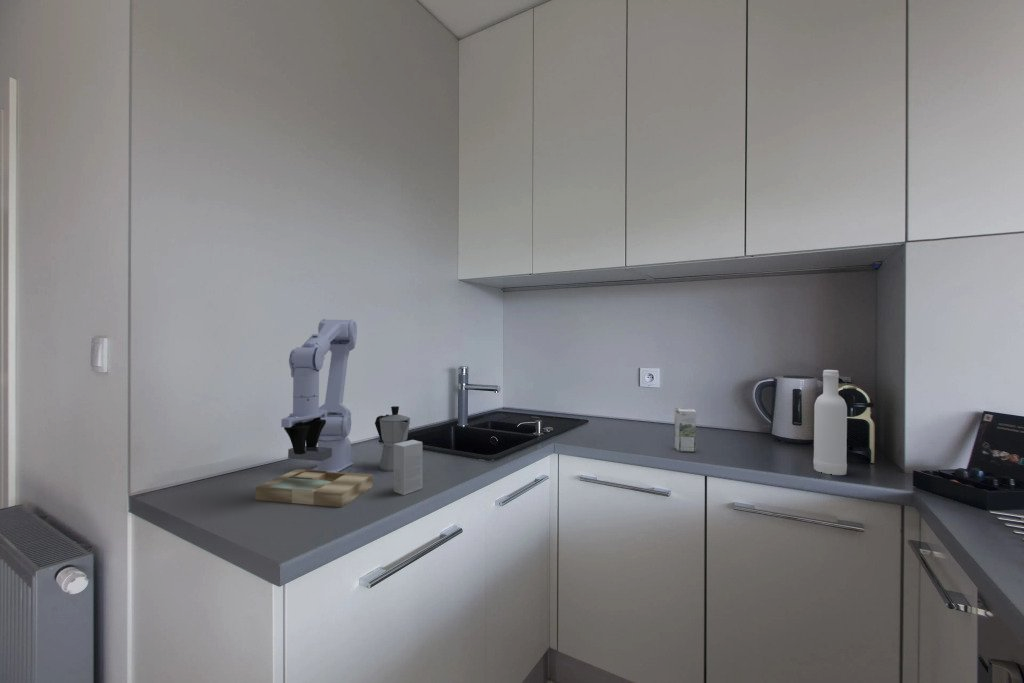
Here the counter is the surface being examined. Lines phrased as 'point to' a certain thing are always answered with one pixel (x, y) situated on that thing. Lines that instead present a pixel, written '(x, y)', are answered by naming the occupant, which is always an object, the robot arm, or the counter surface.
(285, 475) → the bamboo board
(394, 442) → the coffee maker
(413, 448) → the skincare box
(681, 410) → the syrup box
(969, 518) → the counter surface
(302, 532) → the counter surface
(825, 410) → the bottle
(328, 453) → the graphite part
